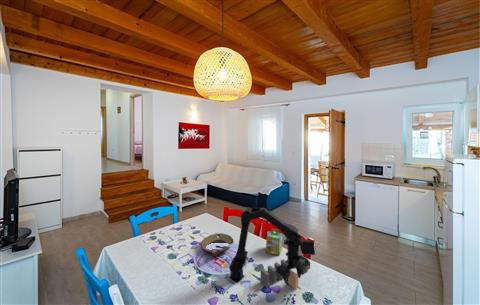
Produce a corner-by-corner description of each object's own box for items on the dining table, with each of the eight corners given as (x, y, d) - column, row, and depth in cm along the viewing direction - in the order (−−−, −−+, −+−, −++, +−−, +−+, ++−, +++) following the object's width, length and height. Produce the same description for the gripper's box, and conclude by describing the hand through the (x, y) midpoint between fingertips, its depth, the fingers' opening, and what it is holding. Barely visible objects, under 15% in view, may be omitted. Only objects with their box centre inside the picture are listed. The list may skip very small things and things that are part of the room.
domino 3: (280, 280, 112) (280, 267, 111) (274, 275, 116) (274, 263, 115) (283, 278, 113) (283, 266, 112) (276, 273, 117) (276, 262, 116)
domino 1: (266, 287, 106) (266, 274, 106) (260, 282, 110) (260, 269, 110) (269, 286, 107) (269, 273, 107) (263, 281, 111) (263, 268, 111)
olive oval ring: (238, 242, 152) (238, 232, 152) (219, 266, 125) (219, 254, 124) (212, 237, 161) (211, 228, 160) (188, 258, 133) (188, 247, 132)
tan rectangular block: (295, 289, 105) (295, 276, 104) (288, 283, 109) (288, 271, 108) (298, 287, 106) (298, 274, 105) (290, 282, 110) (290, 269, 109)
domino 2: (274, 283, 109) (273, 271, 108) (267, 278, 113) (267, 266, 113) (276, 282, 110) (276, 270, 109) (270, 277, 114) (270, 265, 114)
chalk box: (265, 253, 138) (265, 231, 137) (269, 246, 146) (269, 226, 145) (279, 256, 134) (279, 234, 133) (282, 249, 143) (282, 228, 141)
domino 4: (287, 276, 114) (287, 264, 114) (280, 271, 119) (280, 260, 118) (289, 275, 115) (289, 263, 115) (283, 270, 120) (283, 259, 119)
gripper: (292, 266, 94) (292, 299, 95) (318, 253, 104) (317, 282, 106) (275, 255, 103) (275, 285, 105) (300, 244, 114) (300, 271, 115)
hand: (293, 281), depth 107 cm, fingers open, 9 cm apart
